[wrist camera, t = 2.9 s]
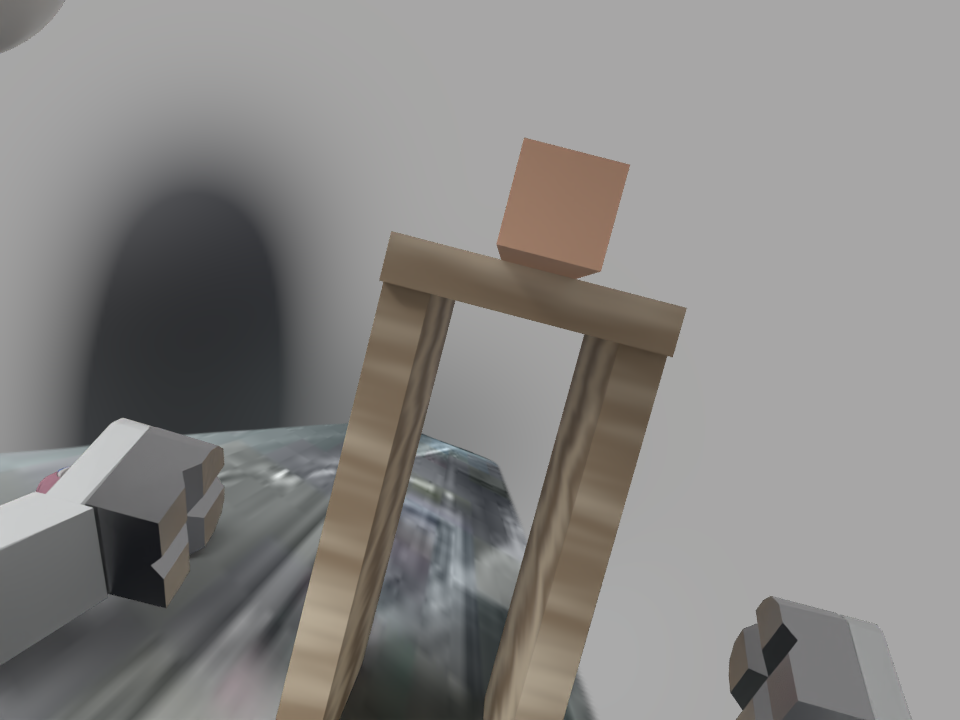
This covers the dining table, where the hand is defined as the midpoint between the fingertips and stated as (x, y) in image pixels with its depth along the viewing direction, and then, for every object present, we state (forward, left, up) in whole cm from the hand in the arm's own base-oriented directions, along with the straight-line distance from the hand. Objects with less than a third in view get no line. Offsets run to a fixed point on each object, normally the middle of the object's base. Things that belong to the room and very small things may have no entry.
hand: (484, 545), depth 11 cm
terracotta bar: (-19, +9, +5) cm, 22 cm away
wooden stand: (-24, +11, -21) cm, 34 cm away
